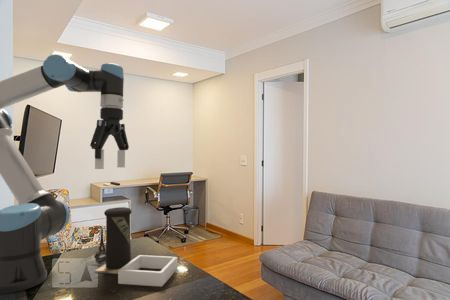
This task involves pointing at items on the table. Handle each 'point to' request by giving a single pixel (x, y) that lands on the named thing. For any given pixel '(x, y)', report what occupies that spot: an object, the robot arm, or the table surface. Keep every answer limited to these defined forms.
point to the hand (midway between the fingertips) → (110, 168)
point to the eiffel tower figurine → (96, 256)
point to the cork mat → (106, 270)
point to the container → (117, 237)
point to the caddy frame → (148, 278)
